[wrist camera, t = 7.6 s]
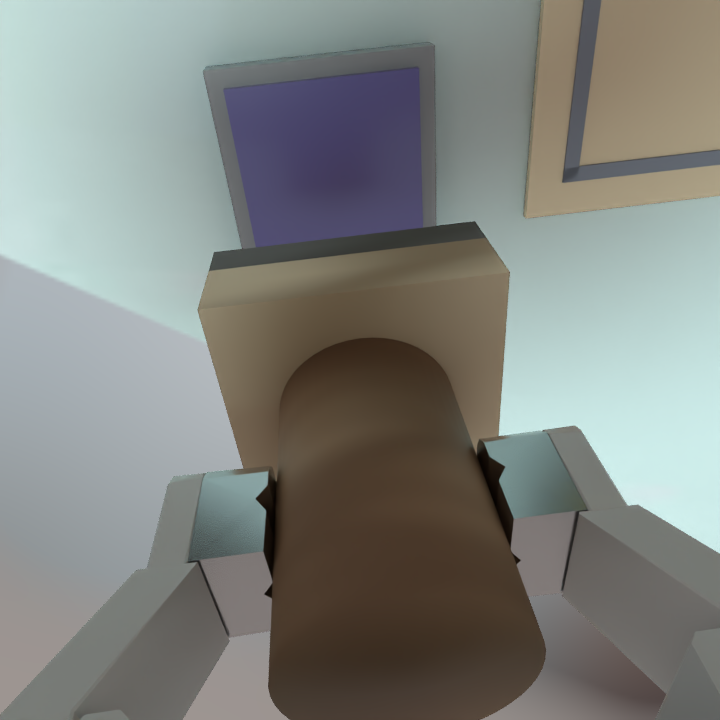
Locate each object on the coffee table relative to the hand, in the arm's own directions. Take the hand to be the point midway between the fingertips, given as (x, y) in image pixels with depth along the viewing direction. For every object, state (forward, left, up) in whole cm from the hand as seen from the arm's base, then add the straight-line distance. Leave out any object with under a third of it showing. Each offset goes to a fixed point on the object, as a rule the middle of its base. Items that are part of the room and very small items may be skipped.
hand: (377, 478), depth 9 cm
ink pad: (0, 0, -17) cm, 17 cm away
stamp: (0, 0, -4) cm, 4 cm away
